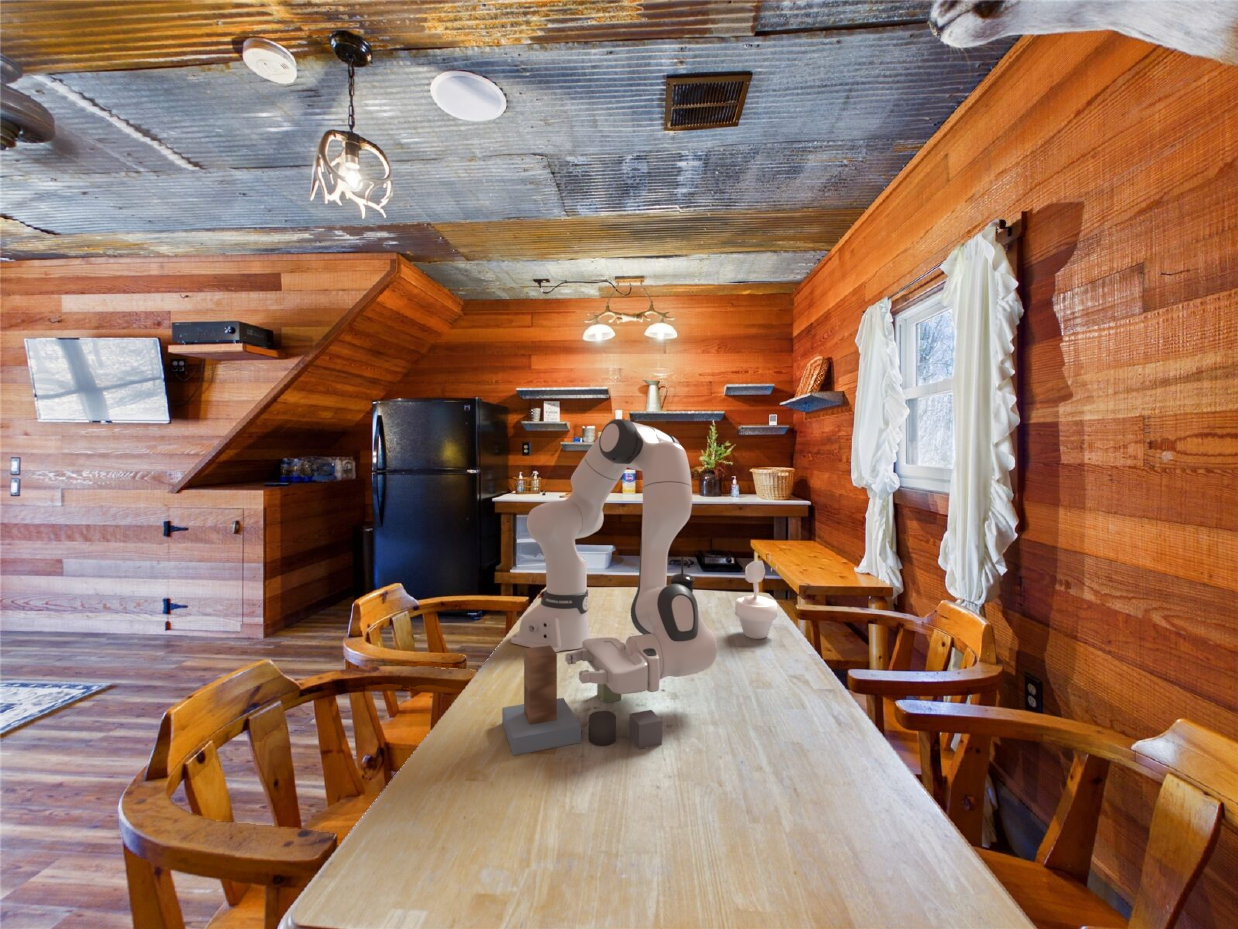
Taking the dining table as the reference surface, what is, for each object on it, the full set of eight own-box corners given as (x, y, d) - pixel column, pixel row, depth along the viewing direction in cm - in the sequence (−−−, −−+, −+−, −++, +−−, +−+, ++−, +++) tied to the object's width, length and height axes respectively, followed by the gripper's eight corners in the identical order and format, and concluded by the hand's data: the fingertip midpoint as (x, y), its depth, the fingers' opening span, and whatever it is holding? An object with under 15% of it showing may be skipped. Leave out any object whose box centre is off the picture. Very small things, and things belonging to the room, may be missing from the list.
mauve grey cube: (639, 750, 94) (639, 725, 94) (629, 738, 98) (629, 713, 98) (661, 745, 96) (661, 720, 96) (651, 733, 100) (651, 709, 100)
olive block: (603, 702, 112) (603, 679, 112) (597, 695, 116) (597, 671, 116) (621, 699, 114) (621, 676, 114) (614, 692, 118) (614, 669, 117)
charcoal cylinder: (583, 743, 96) (584, 721, 96) (595, 730, 101) (595, 708, 101) (610, 748, 95) (610, 726, 95) (620, 735, 99) (620, 713, 99)
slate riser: (513, 755, 92) (513, 738, 92) (502, 723, 103) (502, 707, 103) (580, 742, 97) (580, 725, 97) (563, 712, 108) (563, 697, 108)
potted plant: (778, 644, 148) (779, 552, 148) (735, 641, 150) (735, 551, 150) (775, 629, 160) (775, 545, 160) (734, 627, 163) (735, 544, 162)
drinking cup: (665, 622, 167) (666, 558, 166) (675, 616, 173) (675, 554, 173) (689, 626, 163) (689, 560, 163) (697, 619, 170) (698, 556, 170)
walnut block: (529, 724, 97) (529, 658, 97) (524, 712, 101) (524, 648, 101) (556, 720, 99) (556, 654, 98) (550, 708, 103) (550, 645, 103)
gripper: (621, 627, 117) (559, 634, 112) (662, 660, 98) (588, 671, 93) (621, 656, 117) (558, 664, 112) (661, 695, 98) (588, 707, 93)
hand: (572, 668), depth 102 cm, fingers open, 8 cm apart
